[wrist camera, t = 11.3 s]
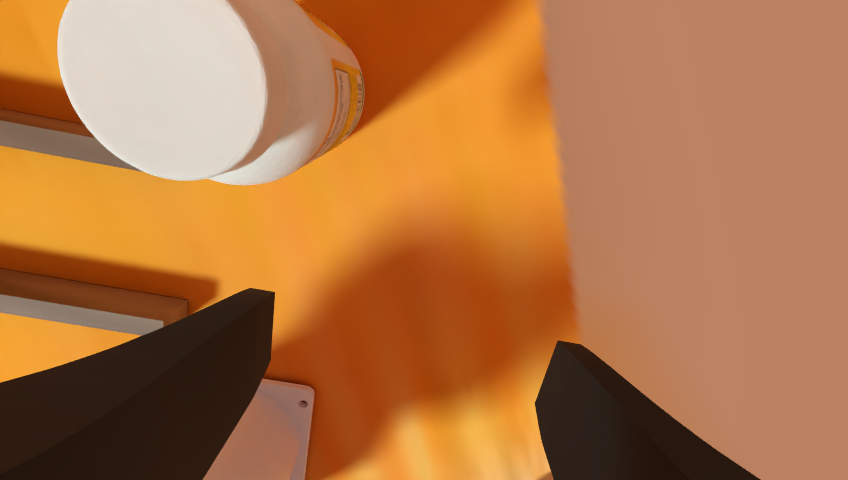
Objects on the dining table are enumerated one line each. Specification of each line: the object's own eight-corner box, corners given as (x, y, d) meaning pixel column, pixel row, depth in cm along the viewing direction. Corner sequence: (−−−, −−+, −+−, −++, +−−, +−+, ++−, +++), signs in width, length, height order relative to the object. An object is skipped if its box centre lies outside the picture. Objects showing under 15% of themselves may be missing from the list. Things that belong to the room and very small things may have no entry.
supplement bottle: (386, 124, 17) (352, 157, 8) (278, 172, 18) (137, 252, 9) (328, -9, 15) (203, -151, 6) (211, 50, 16) (-51, -4, 7)
